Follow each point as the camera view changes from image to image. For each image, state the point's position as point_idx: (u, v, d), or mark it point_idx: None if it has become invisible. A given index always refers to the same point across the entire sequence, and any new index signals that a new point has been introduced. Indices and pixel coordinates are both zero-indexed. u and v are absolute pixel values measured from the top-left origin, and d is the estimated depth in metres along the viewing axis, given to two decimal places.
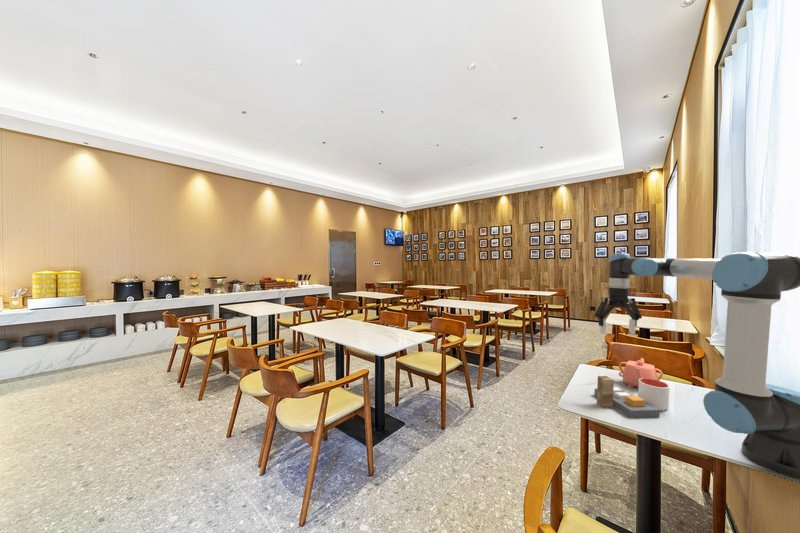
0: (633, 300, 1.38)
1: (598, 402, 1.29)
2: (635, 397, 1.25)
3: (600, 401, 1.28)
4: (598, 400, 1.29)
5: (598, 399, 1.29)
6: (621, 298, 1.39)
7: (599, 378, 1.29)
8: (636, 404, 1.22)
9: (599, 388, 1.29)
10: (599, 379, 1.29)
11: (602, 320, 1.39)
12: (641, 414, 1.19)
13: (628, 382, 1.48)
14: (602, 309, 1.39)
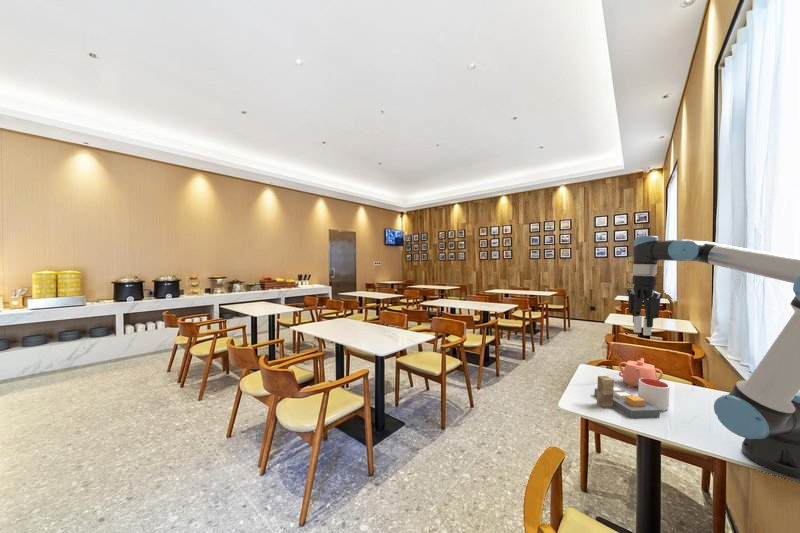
0: (654, 295, 1.15)
1: (598, 402, 1.29)
2: (635, 397, 1.25)
3: (600, 401, 1.28)
4: (598, 400, 1.29)
5: (598, 399, 1.29)
6: (642, 287, 1.20)
7: (599, 378, 1.29)
8: (636, 404, 1.22)
9: (599, 388, 1.29)
10: (599, 379, 1.29)
11: None
12: (641, 414, 1.19)
13: (628, 382, 1.48)
14: (629, 303, 1.26)
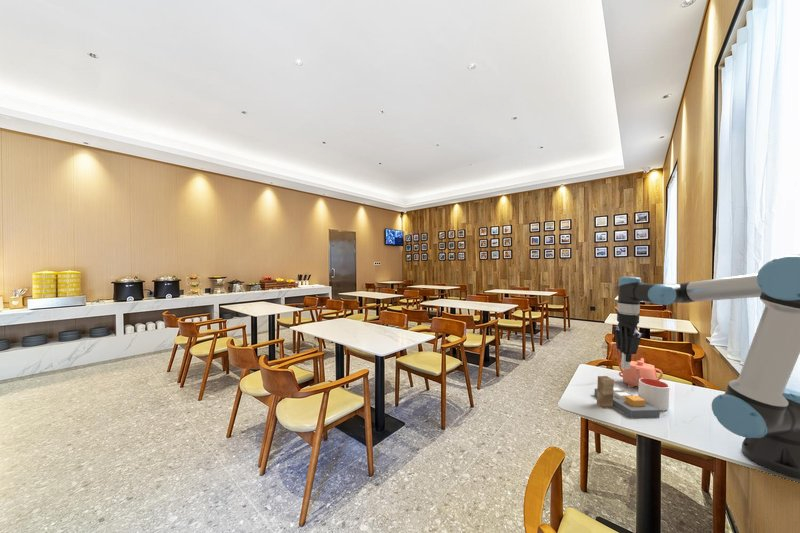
0: (635, 334, 1.23)
1: (598, 402, 1.29)
2: (635, 397, 1.25)
3: (600, 401, 1.28)
4: (598, 400, 1.29)
5: (598, 399, 1.29)
6: (626, 325, 1.28)
7: (599, 378, 1.29)
8: (636, 404, 1.22)
9: (599, 388, 1.29)
10: (599, 379, 1.29)
11: (622, 353, 1.30)
12: (641, 414, 1.19)
13: (628, 382, 1.48)
14: (616, 339, 1.33)
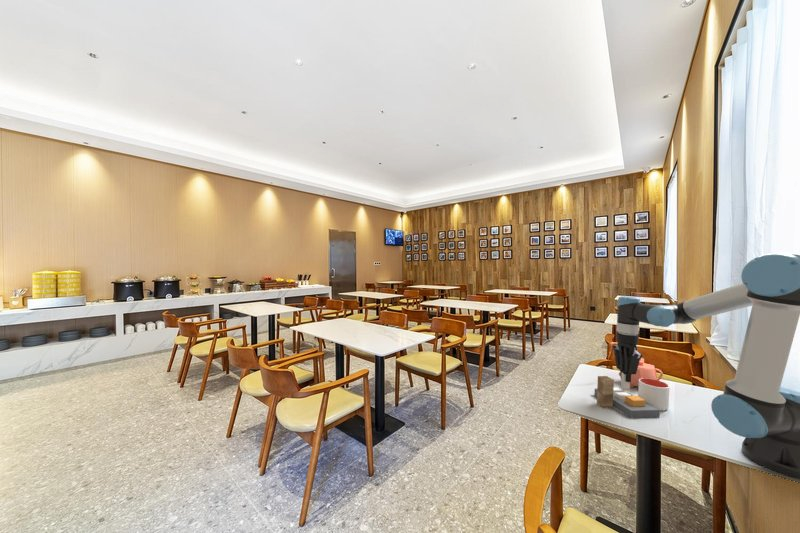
0: (634, 355, 1.23)
1: (598, 402, 1.29)
2: (635, 397, 1.25)
3: (600, 401, 1.28)
4: (598, 400, 1.29)
5: (598, 399, 1.29)
6: (625, 345, 1.28)
7: (599, 378, 1.29)
8: (636, 404, 1.22)
9: (599, 388, 1.29)
10: (599, 379, 1.29)
11: None
12: (641, 414, 1.19)
13: None
14: (616, 358, 1.33)
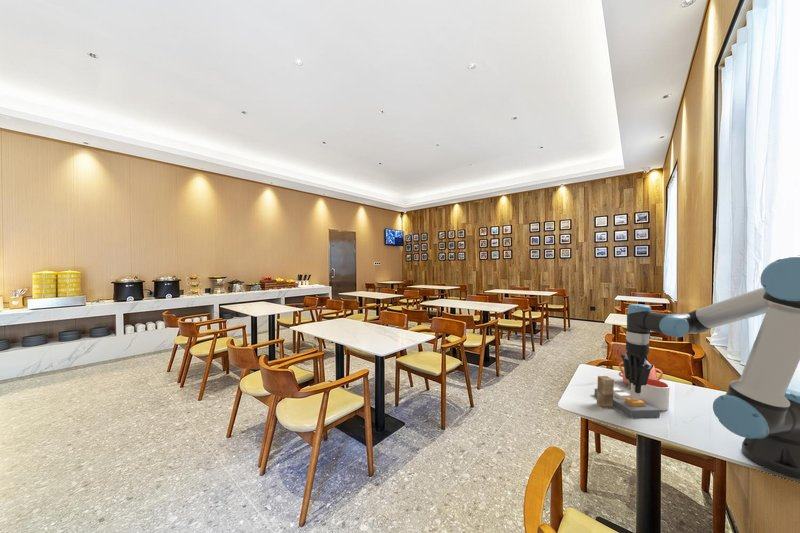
0: (645, 365, 1.18)
1: (598, 402, 1.29)
2: None
3: (600, 401, 1.28)
4: (598, 400, 1.29)
5: (598, 399, 1.29)
6: (635, 355, 1.23)
7: (599, 378, 1.29)
8: (635, 406, 1.22)
9: (599, 388, 1.29)
10: (599, 379, 1.29)
11: None
12: (641, 414, 1.19)
13: (628, 382, 1.48)
14: (625, 368, 1.28)
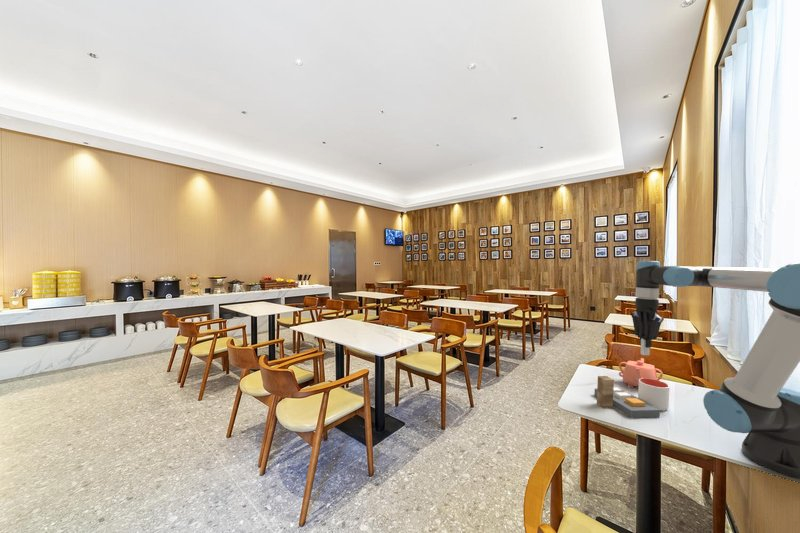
0: (656, 319, 1.21)
1: (598, 402, 1.29)
2: (635, 399, 1.25)
3: (600, 401, 1.28)
4: (598, 400, 1.29)
5: (598, 399, 1.29)
6: (645, 310, 1.25)
7: (599, 378, 1.29)
8: None
9: (599, 388, 1.29)
10: (599, 379, 1.29)
11: None
12: (641, 414, 1.19)
13: (628, 382, 1.48)
14: (634, 325, 1.30)
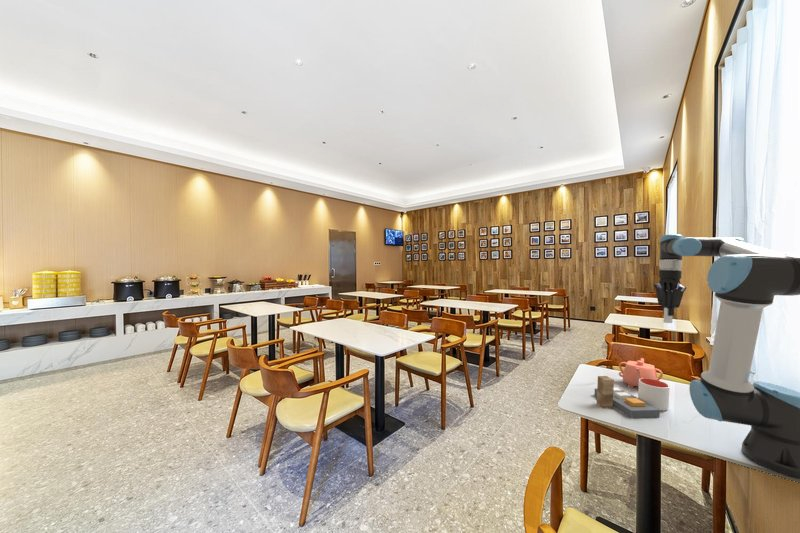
0: (678, 288, 1.29)
1: (598, 402, 1.29)
2: (635, 399, 1.25)
3: (600, 401, 1.28)
4: (598, 400, 1.29)
5: (598, 399, 1.29)
6: (668, 280, 1.34)
7: (599, 378, 1.29)
8: None
9: (599, 388, 1.29)
10: (599, 379, 1.29)
11: None
12: (641, 414, 1.19)
13: (628, 382, 1.48)
14: (658, 296, 1.39)
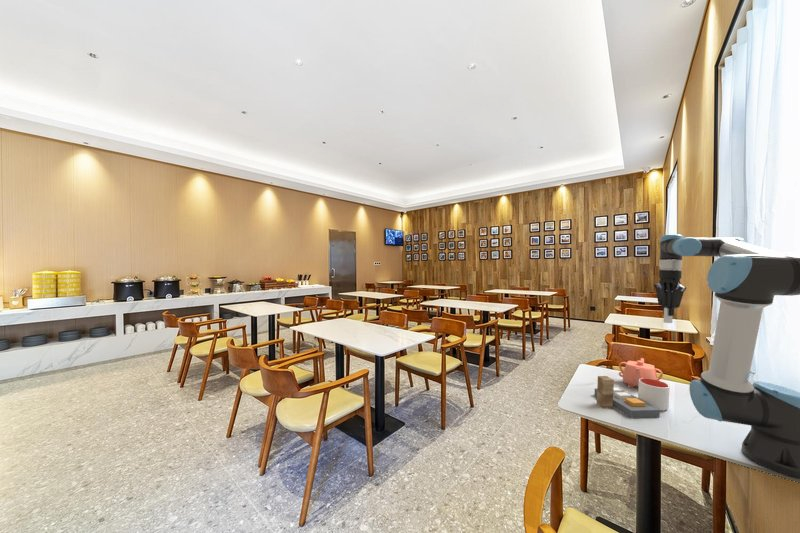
0: (678, 288, 1.29)
1: (598, 402, 1.29)
2: (635, 399, 1.25)
3: (600, 401, 1.28)
4: (598, 400, 1.29)
5: (598, 399, 1.29)
6: (668, 281, 1.34)
7: (599, 378, 1.29)
8: None
9: (599, 388, 1.29)
10: (599, 379, 1.29)
11: None
12: (641, 414, 1.19)
13: (628, 382, 1.48)
14: (658, 296, 1.39)
